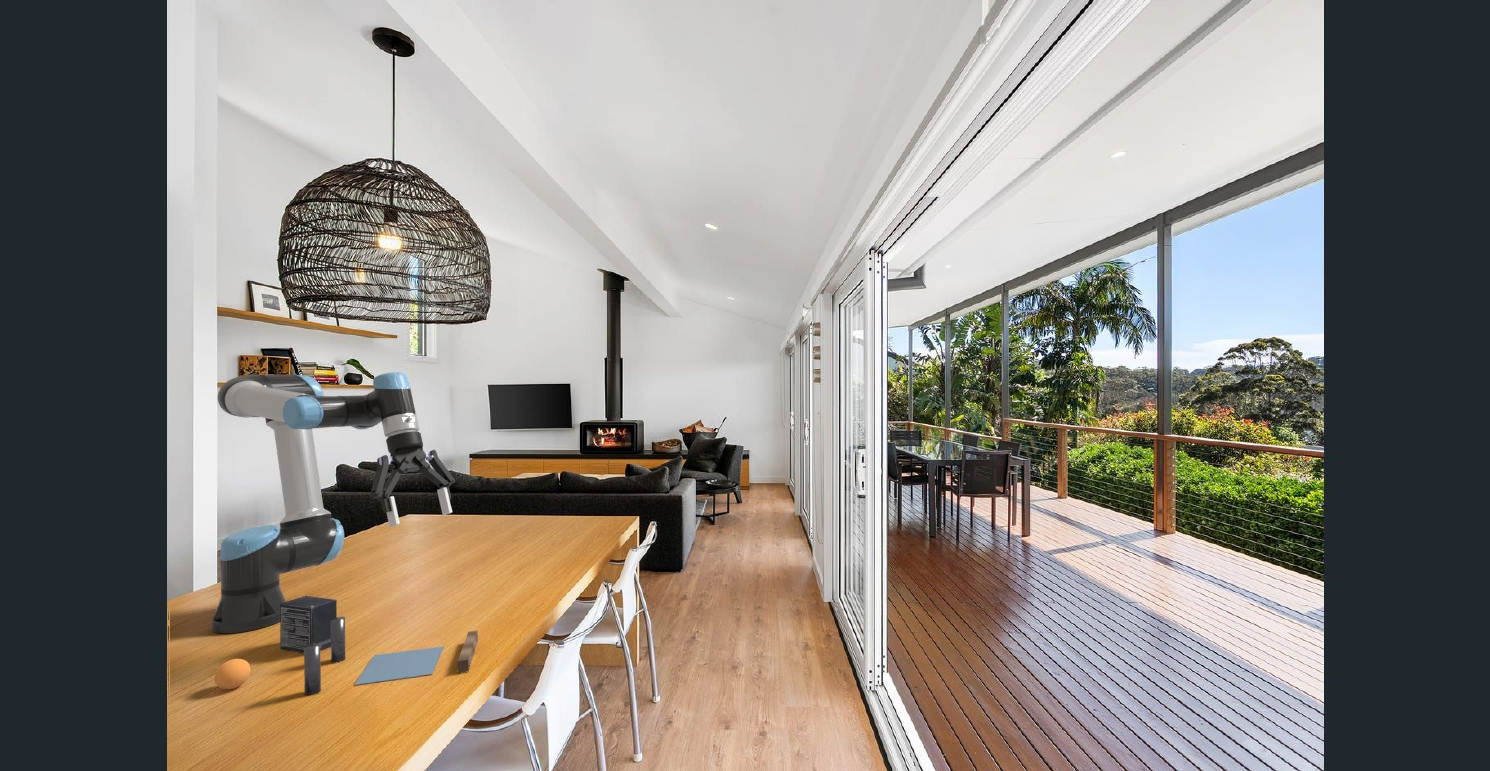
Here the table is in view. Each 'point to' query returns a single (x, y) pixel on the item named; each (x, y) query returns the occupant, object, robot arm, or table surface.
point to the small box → (306, 622)
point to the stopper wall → (467, 651)
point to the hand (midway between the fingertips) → (422, 519)
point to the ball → (232, 674)
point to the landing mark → (400, 665)
